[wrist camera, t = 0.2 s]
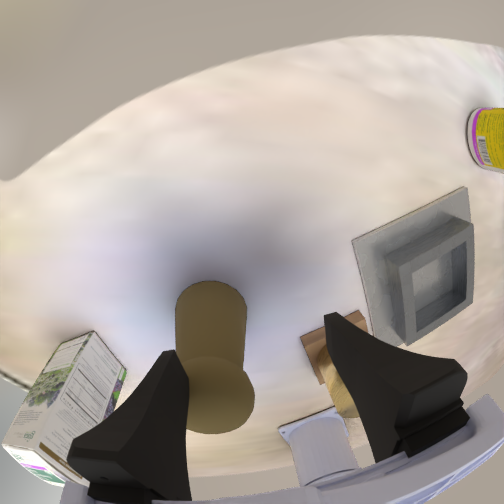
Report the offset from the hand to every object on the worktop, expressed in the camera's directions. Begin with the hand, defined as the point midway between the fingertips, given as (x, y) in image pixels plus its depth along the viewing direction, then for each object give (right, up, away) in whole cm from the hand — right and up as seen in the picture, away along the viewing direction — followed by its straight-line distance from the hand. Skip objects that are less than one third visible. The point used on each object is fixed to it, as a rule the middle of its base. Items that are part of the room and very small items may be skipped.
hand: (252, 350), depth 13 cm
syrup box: (-16, -6, +11) cm, 21 cm away
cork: (-3, 0, +11) cm, 11 cm away
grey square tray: (+17, +2, +12) cm, 21 cm away
